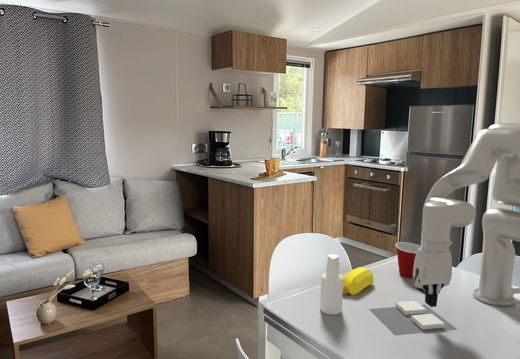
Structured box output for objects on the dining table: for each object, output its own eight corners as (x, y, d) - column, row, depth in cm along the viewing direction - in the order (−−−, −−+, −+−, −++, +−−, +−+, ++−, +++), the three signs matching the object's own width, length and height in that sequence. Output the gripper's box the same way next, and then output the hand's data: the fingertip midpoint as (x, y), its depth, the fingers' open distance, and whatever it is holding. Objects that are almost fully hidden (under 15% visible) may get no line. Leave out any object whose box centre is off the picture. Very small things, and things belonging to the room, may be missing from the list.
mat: (424, 305, 133) (424, 304, 133) (457, 330, 117) (457, 329, 117) (368, 310, 129) (368, 309, 129) (394, 336, 113) (394, 335, 113)
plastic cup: (414, 283, 151) (416, 252, 149) (388, 274, 159) (390, 245, 157) (427, 276, 158) (429, 246, 157) (401, 268, 166) (403, 240, 165)
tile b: (431, 313, 123) (411, 315, 122) (444, 323, 117) (422, 325, 116) (431, 318, 123) (410, 320, 122) (444, 328, 117) (422, 330, 116)
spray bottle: (342, 307, 131) (345, 253, 128) (340, 316, 124) (343, 260, 122) (321, 304, 133) (323, 251, 130) (318, 313, 126) (321, 258, 123)
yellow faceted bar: (334, 293, 142) (353, 299, 137) (334, 275, 141) (354, 281, 136) (357, 278, 155) (376, 284, 150) (358, 262, 154) (377, 267, 149)
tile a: (415, 300, 132) (395, 302, 130) (426, 309, 126) (405, 310, 125) (414, 305, 132) (395, 306, 131) (425, 313, 126) (405, 315, 125)
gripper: (449, 239, 121) (445, 297, 124) (404, 242, 118) (400, 301, 121) (466, 247, 114) (461, 308, 117) (418, 251, 111) (415, 313, 114)
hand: (430, 304), depth 119 cm, fingers closed
